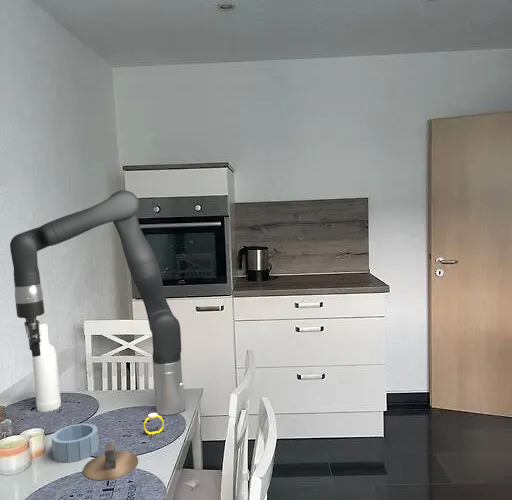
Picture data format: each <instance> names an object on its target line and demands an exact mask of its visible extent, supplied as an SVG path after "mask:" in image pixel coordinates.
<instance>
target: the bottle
mask: <svg viewBox="0 0 512 500" xmlns="http://www.w3.org/2000/svg"><path fill="white" fill-rule="evenodd" d="M40 340H41V341H40V343H39V345H40V354H41V355H40V356H37V357H33V356H32V358H31V359H32V366H33V367H32V368H33V377H34V378H33V379H34V389H35V398H36V399H35V401H36V402H35V404H36V410H37V412H39V413H49V411H50V412H53V410H54V411H56V410H58V409H60V408H61V406H62V399H61V390H60V379H59V367H58V357H57V351H56V347H54V345H53V344H52V343H50V340H49V326H48V323H45V322H44V323H43V322H42V323H40ZM59 407H60V408H59Z"/></svg>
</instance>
